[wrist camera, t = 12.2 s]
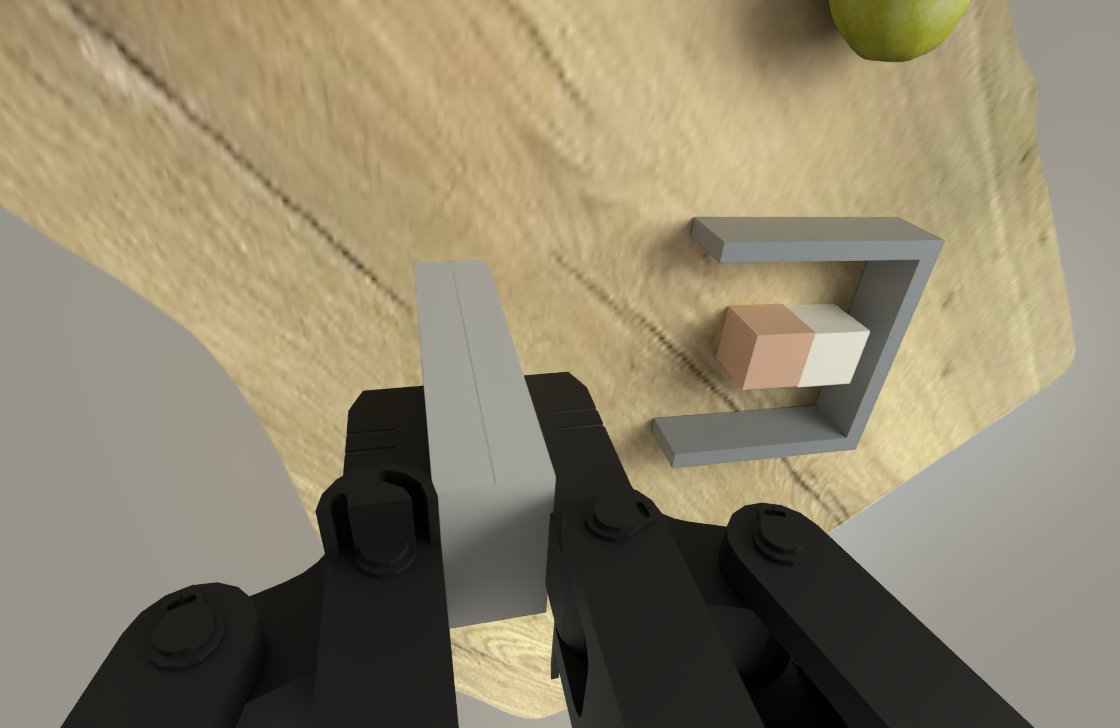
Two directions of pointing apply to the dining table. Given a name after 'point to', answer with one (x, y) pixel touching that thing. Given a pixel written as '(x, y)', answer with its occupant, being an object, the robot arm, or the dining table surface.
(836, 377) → the tile
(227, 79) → the dining table surface
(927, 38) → the apple
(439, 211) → the dining table surface
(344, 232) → the dining table surface
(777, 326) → the tile
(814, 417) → the box
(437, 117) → the dining table surface
